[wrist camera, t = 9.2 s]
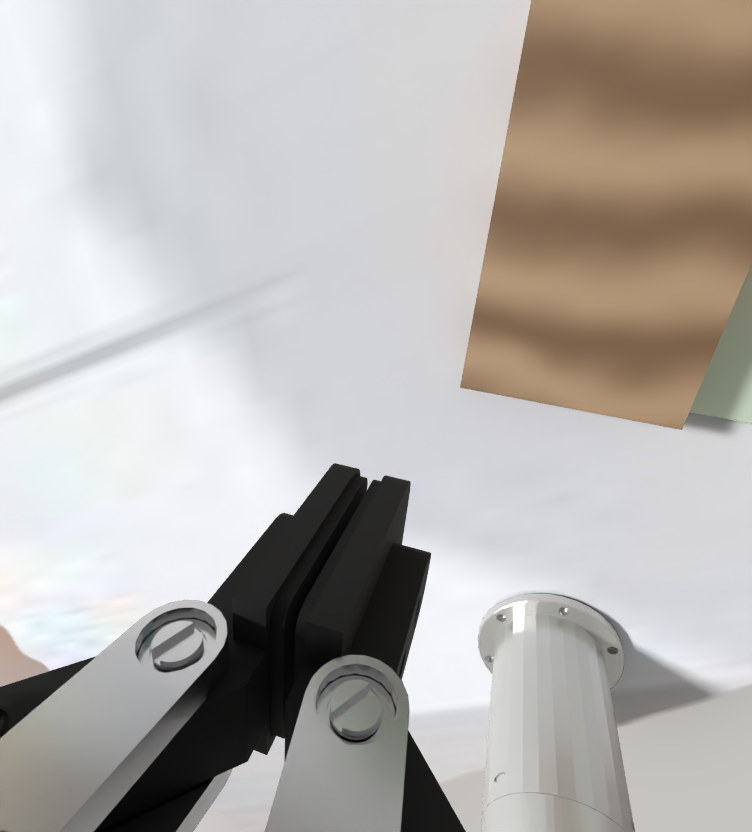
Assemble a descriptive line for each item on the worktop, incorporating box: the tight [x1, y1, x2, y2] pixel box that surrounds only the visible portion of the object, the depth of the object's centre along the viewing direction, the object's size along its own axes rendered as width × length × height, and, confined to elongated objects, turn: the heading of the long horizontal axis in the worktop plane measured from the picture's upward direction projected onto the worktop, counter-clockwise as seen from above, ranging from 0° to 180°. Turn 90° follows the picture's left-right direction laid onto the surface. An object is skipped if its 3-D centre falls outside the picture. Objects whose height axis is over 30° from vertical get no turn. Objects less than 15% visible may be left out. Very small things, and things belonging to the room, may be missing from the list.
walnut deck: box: [460, 0, 752, 430], centre depth 28 cm, size 22×14×4 cm, turn 175°
